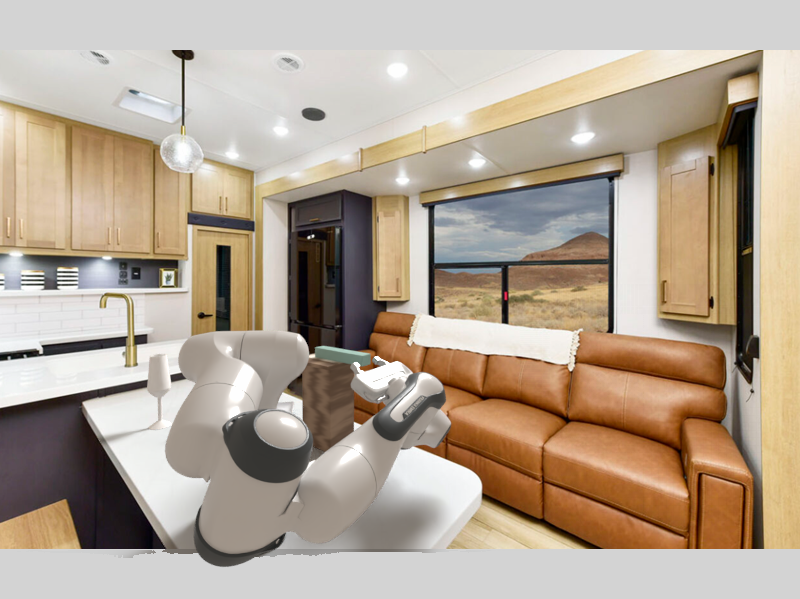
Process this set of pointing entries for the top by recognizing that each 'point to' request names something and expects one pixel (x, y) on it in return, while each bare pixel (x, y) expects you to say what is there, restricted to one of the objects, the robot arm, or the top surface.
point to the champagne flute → (159, 385)
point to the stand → (327, 401)
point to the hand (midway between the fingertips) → (364, 361)
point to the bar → (342, 355)
